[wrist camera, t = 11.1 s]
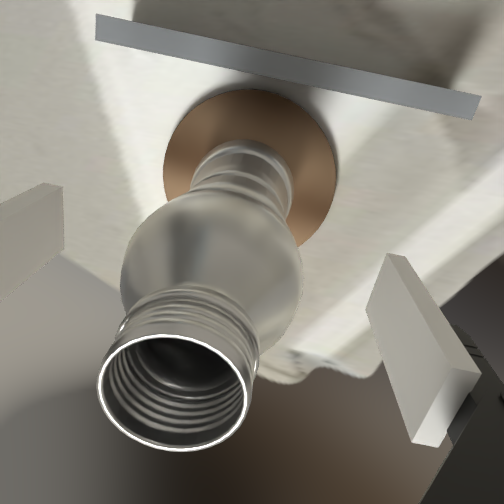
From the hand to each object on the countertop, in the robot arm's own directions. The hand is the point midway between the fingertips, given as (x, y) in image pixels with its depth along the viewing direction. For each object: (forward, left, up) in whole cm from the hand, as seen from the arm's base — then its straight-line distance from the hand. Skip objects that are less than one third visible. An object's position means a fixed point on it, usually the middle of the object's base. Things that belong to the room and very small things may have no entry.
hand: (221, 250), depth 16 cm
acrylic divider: (-7, +1, -13) cm, 15 cm away
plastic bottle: (0, 0, -12) cm, 13 cm away
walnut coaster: (0, 0, -13) cm, 13 cm away
